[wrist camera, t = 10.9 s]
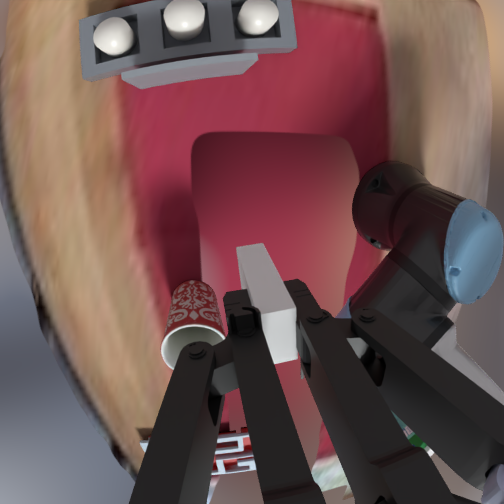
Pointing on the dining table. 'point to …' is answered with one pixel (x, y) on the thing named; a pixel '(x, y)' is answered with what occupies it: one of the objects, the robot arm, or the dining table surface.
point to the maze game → (229, 452)
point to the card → (190, 70)
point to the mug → (191, 320)
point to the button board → (171, 50)
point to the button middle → (184, 19)
